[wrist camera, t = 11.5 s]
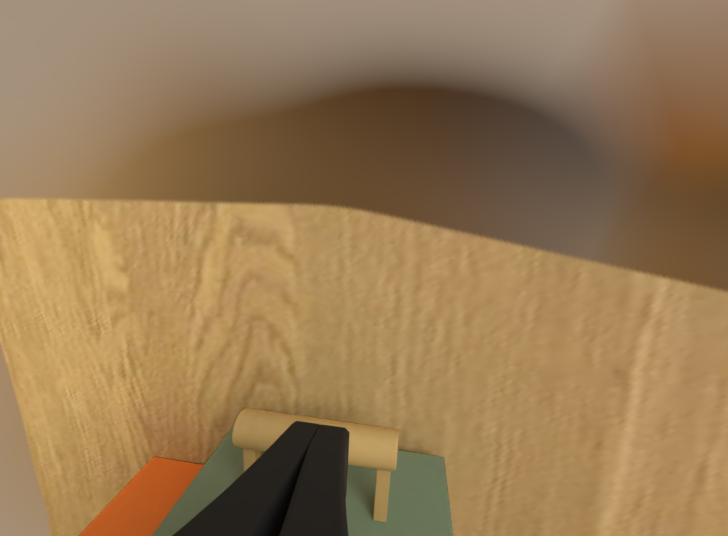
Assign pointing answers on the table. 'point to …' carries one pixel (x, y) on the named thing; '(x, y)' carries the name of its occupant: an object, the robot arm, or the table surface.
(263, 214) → the table surface
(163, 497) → the orange rectangular block
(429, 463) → the drawer
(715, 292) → the table surface
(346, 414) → the table surface
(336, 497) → the robot arm
